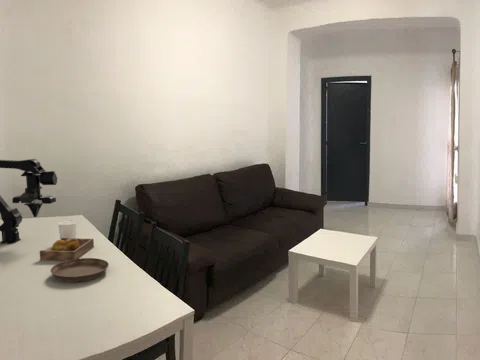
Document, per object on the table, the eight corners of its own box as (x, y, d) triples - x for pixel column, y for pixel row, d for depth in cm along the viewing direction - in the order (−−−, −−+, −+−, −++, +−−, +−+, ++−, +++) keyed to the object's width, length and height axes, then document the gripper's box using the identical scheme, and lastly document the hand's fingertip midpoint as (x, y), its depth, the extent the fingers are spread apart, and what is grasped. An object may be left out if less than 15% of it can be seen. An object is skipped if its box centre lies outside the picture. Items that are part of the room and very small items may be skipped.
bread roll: (46, 259, 165) (45, 241, 164) (52, 251, 175) (51, 234, 174) (78, 257, 168) (77, 239, 167) (83, 250, 177) (82, 233, 176)
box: (40, 260, 164) (39, 251, 163) (62, 246, 183) (61, 238, 182) (75, 261, 163) (74, 251, 163) (93, 247, 182) (93, 238, 182)
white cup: (72, 245, 184) (71, 225, 183) (56, 245, 184) (55, 224, 183) (80, 240, 192) (79, 220, 190) (64, 240, 192) (63, 220, 191)
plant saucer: (91, 261, 164) (91, 253, 164) (119, 273, 151) (119, 265, 150) (41, 275, 148) (40, 266, 148) (67, 290, 135) (66, 281, 135)
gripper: (3, 187, 179) (6, 220, 181) (43, 188, 179) (45, 221, 181) (18, 184, 190) (20, 215, 192) (55, 184, 190) (57, 215, 192)
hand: (35, 216), depth 189 cm, fingers closed
